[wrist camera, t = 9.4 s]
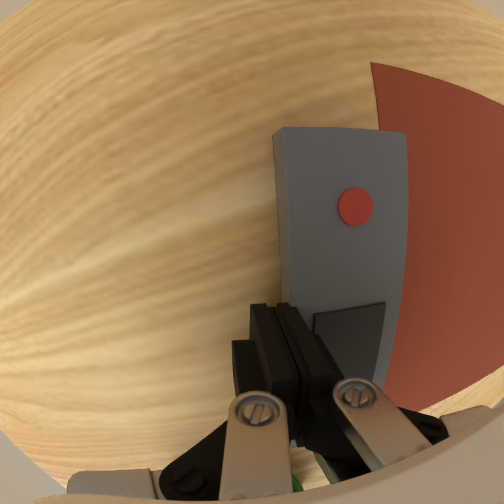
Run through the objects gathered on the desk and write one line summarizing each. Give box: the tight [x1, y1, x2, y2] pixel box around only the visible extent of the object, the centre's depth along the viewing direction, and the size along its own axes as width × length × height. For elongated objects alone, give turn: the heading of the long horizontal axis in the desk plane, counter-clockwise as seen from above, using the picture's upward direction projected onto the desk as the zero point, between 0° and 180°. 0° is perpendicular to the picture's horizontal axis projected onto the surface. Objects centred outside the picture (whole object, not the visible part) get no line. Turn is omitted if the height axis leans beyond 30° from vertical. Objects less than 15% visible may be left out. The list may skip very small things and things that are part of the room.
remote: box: [272, 127, 408, 448], centre depth 10 cm, size 14×4×2 cm, turn 4°
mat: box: [370, 62, 504, 412], centre depth 12 cm, size 20×18×1 cm
